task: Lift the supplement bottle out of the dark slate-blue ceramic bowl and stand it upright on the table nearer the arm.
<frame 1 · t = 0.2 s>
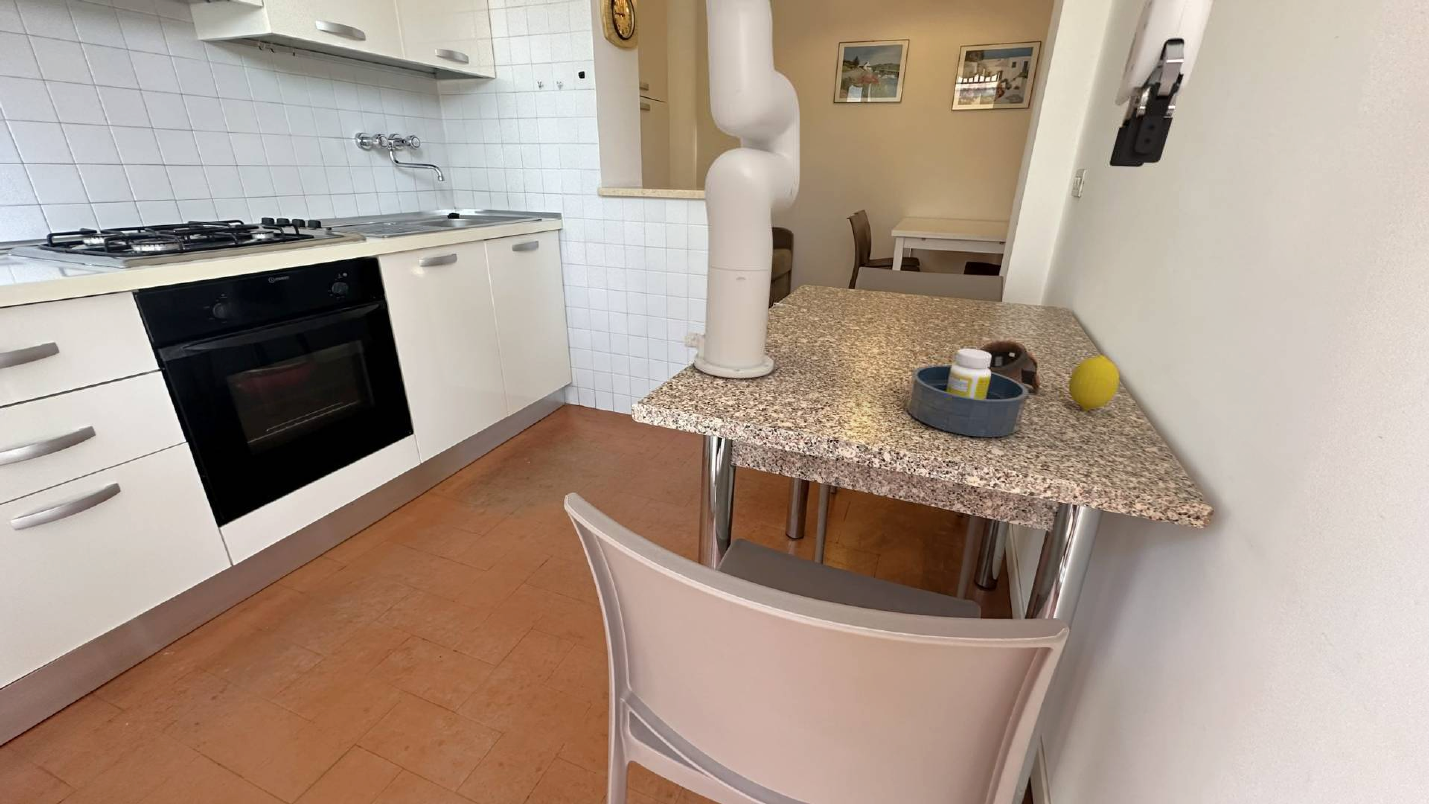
hand: (1131, 164, 60), 31 cm above the table, tool pointing down, fingers open, 9 cm apart
supplement bottle: (960, 416, 75), resting on bowl
bowl: (960, 417, 75), on the table
lemon: (1084, 411, 79), on the table
pottery mug: (999, 388, 87), on the table
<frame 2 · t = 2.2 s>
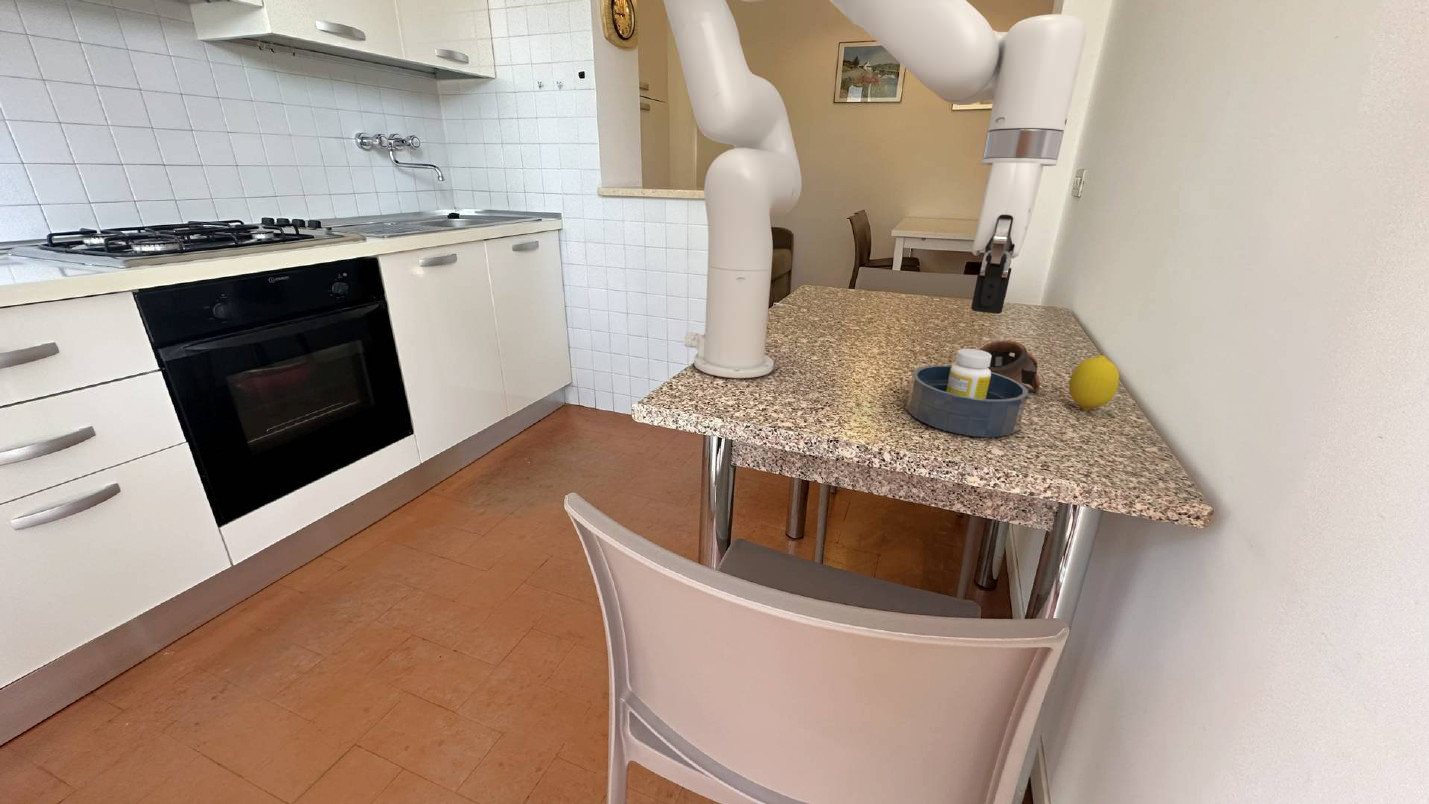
hand: (988, 304, 69), 15 cm above the table, tool pointing down, fingers open, 9 cm apart
nothing on the table moved.
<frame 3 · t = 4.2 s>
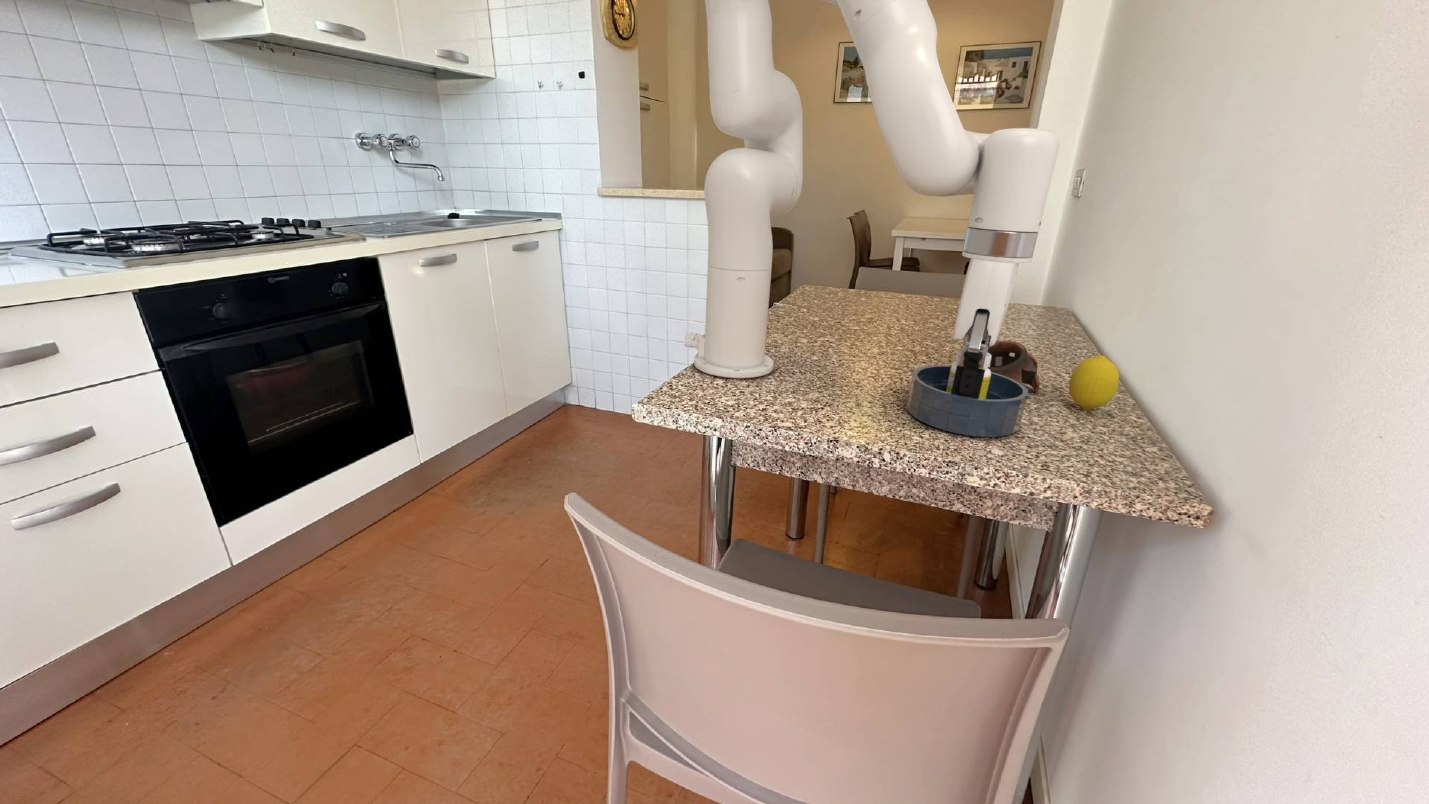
hand: (966, 390, 73), 4 cm above the table, tool pointing down, fingers closed on supplement bottle, 4 cm apart
supplement bottle: (960, 416, 75), resting on bowl, touching gripper
everything else where it was.
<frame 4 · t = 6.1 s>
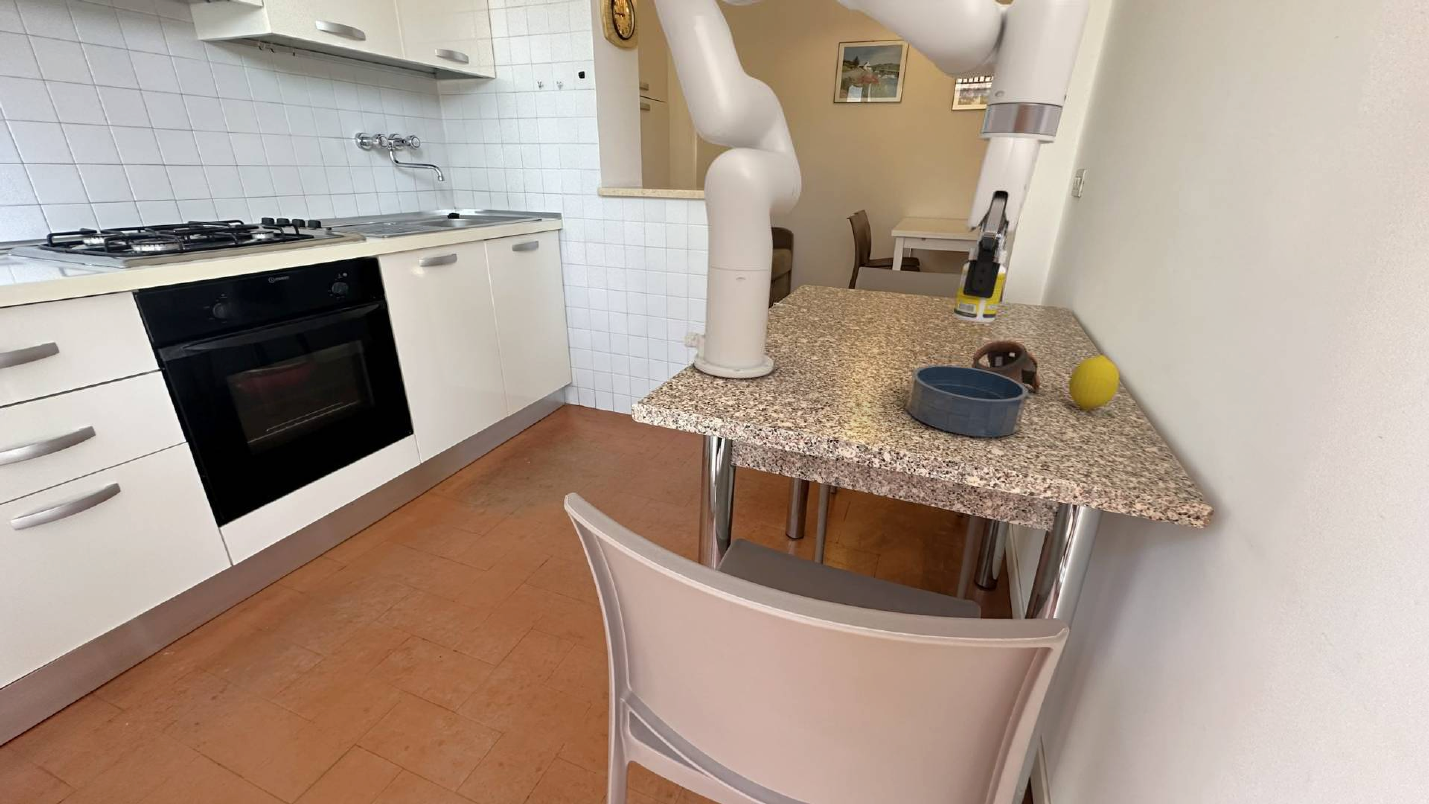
hand: (979, 291, 69), 16 cm above the table, tool pointing down, fingers closed on supplement bottle, 4 cm apart
supplement bottle: (972, 320, 70), point 13 cm above the table, touching gripper
everything else where it was.
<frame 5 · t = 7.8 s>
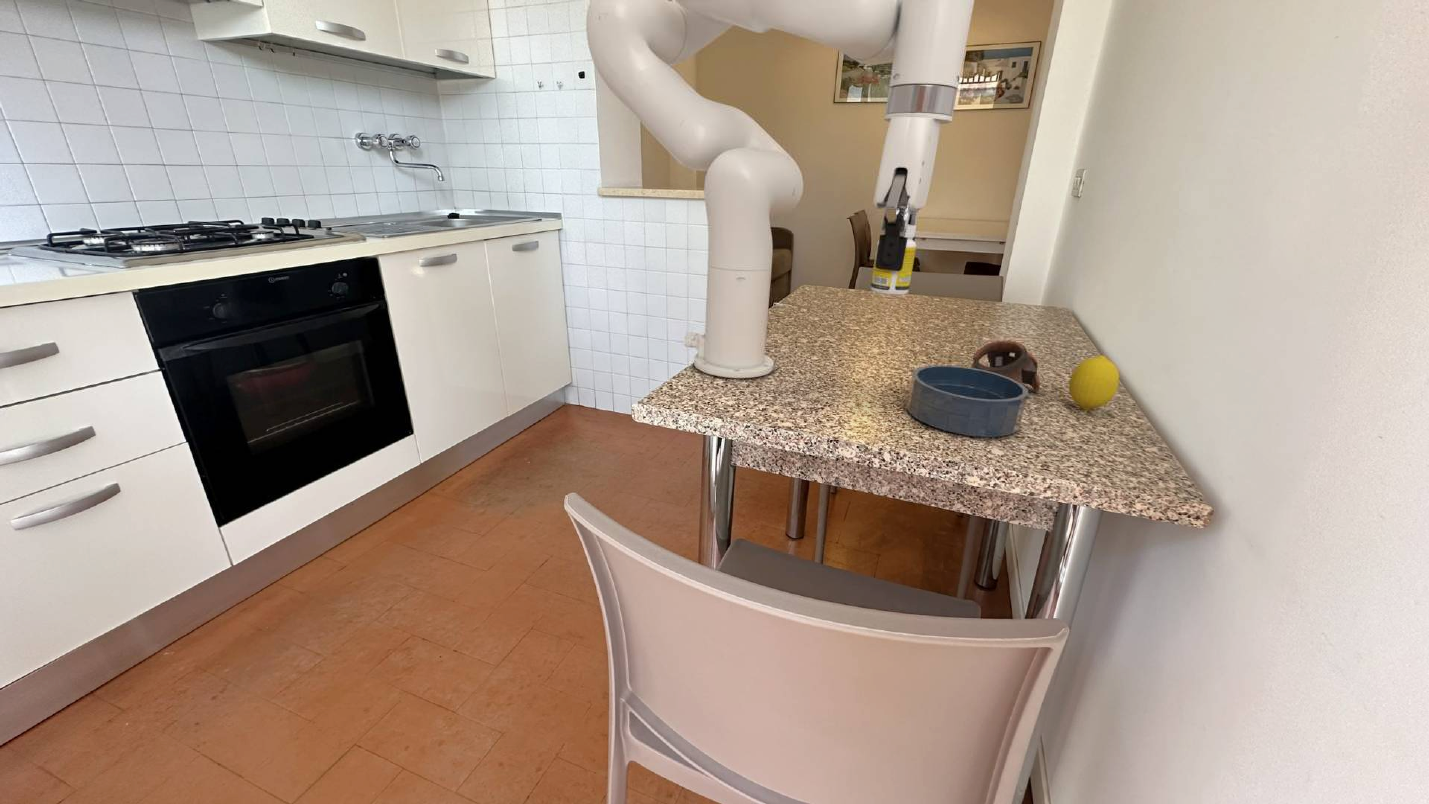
hand: (893, 265, 73), 18 cm above the table, tool pointing down, fingers closed on supplement bottle, 4 cm apart
supplement bottle: (888, 293, 74), point 15 cm above the table, touching gripper
everything else where it was.
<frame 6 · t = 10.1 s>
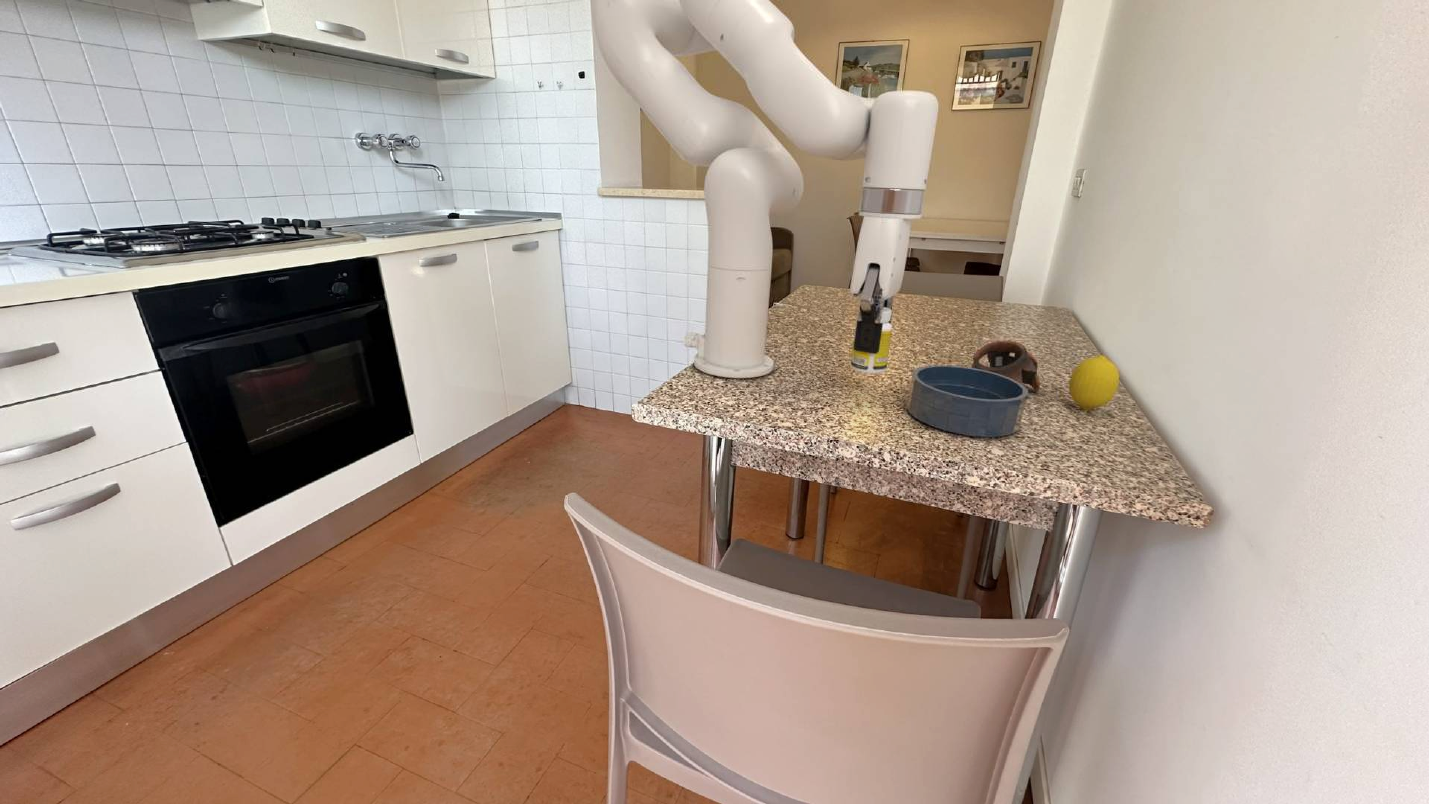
hand: (871, 345, 77), 8 cm above the table, tool pointing down, fingers closed on supplement bottle, 4 cm apart
supplement bottle: (867, 370, 79), point 4 cm above the table, touching gripper
everything else where it was.
when the fingers open (3 cm above the table, at t = 11.6 s): supplement bottle stays where it is, on the table.
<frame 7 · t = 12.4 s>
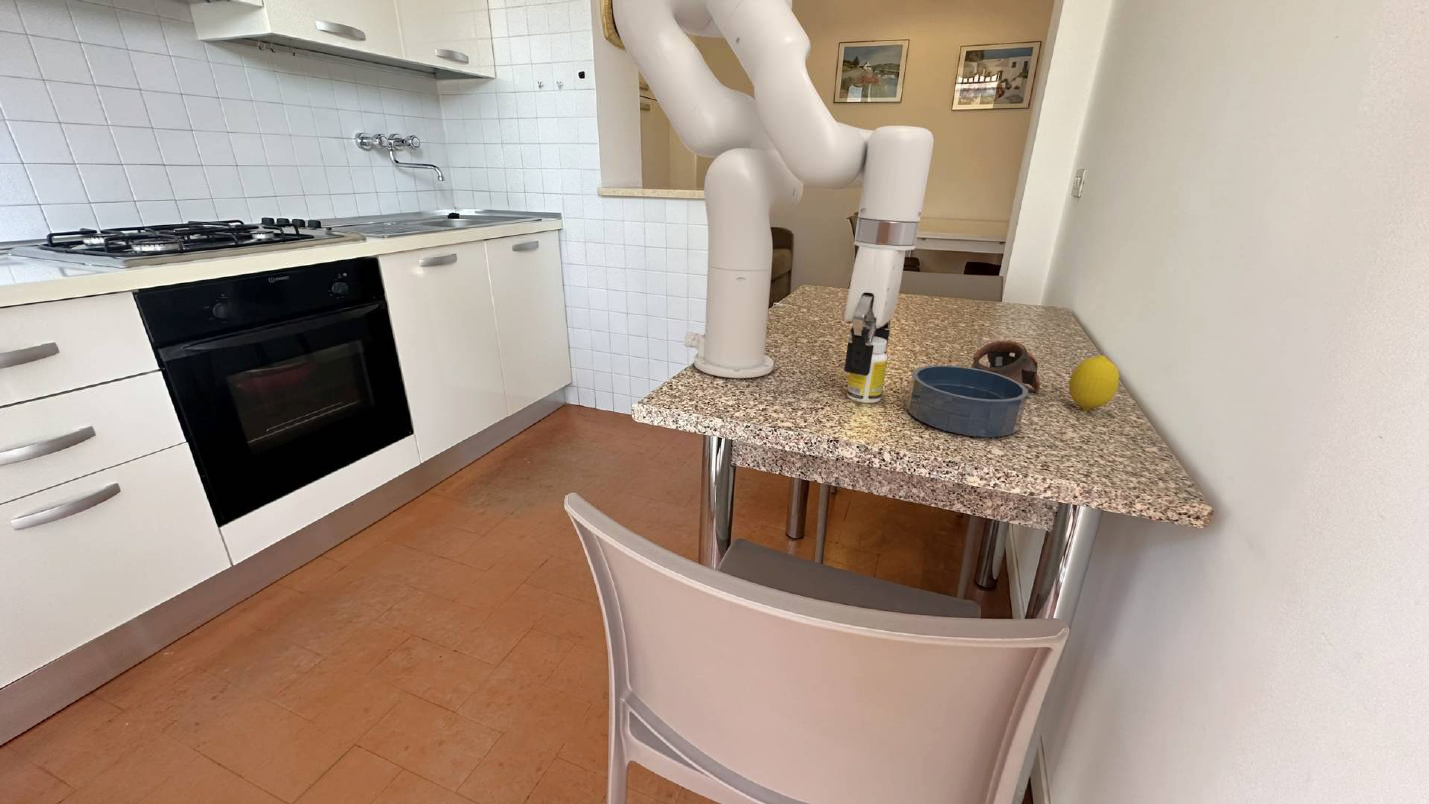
hand: (865, 363, 78), 5 cm above the table, tool pointing down, fingers open, 9 cm apart
supplement bottle: (863, 398, 80), on the table
everything else where it was.
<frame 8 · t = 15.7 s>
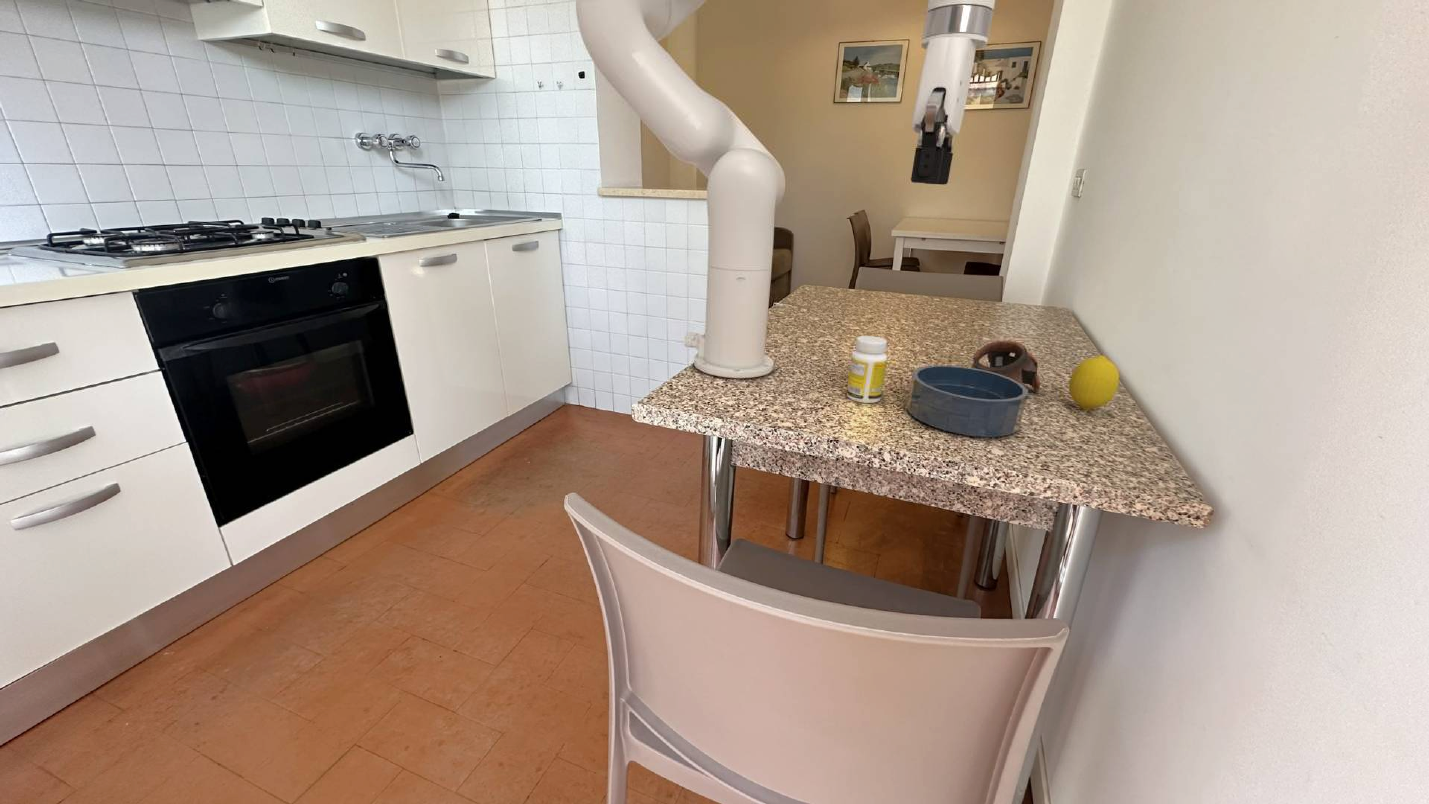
hand: (929, 183, 75), 28 cm above the table, tool pointing down, fingers open, 9 cm apart
nothing on the table moved.
at the end: supplement bottle inside the target area (0.2 cm from its centre), on the table; supplement bottle tilted 0°; supplement bottle touching table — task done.
